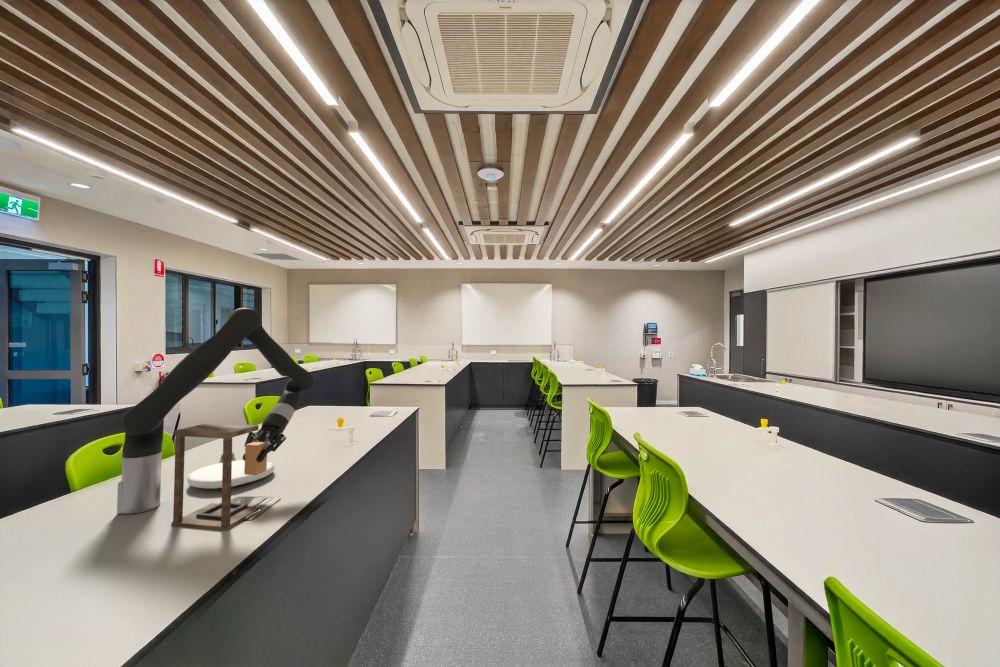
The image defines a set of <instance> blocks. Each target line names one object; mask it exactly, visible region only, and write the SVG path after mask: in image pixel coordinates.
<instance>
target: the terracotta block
mask: <svg viewBox="0 0 1000 667" xmlns="http://www.w3.org/2000/svg"><path fill="white" fill-rule="evenodd" d="M244 445H245V444H244ZM264 445H265V443H264V442H260V441H257V442H252V443H249V444H246V445H245V446H244V447H245V448H244V449H245V450H244V454H245V469H244V474H245V475H258V474H260V473H263V472H265V471H266V469H267V461H268V454H267V455H266V457H265V458H264V460H263V461H262V462H261V463H260V462H258V461H256V458H257V457H258V455H259V454H260V452H261V450H263V447H264Z"/></svg>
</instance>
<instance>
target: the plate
mask: <svg viewBox="0 0 1000 667" xmlns="http://www.w3.org/2000/svg"><path fill="white" fill-rule="evenodd" d="M244 469H245V461H244V460H243V459H240V460H239V459H238V460H236V461H232V473H231V488H232V487H236V486H237V487H238V486H239V485H244V484H249V483H252V482H255V481H257V480H258V481H259V480H261V479H263V478H266V477H268V476H269V475H271V474H272V473H273V472H274V471H275V467H274V464H273V463H272V462H271V461H268V460H267V469H266V471H265V472H263V473H260V474H258V475H245V474H244ZM222 471H223V463H219V462H218V463H214V464H211V465H207V466H203V467H201V468H198V469H196V470H194V471H192V472H191V473H190V474H188V476H187V479H186V481H187V483H188V485H189V486H191V487H193V488H199V489H222Z"/></svg>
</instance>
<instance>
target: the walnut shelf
mask: <svg viewBox="0 0 1000 667" xmlns="http://www.w3.org/2000/svg"><path fill="white" fill-rule="evenodd" d="M255 431H256V432H257V431H259V424H246V423H245V424H242V423H222V422H220V423H218V422H207V423H202V424H198V425H193V426H189V427H184V428H181V429H176V430H173V436H174V437H175V443H174V444H175V446H174V448H175V449H174V475H173V476H174V479H173V480H174V482H173V514H172V516H173V517H172V521H171V527H173V526H174V527H182V528H191V527H192V528H193V529H202V530H212V529H214V530H213V531H222V530H223V531H224V532H226V531H228V530H229V528H230V529H231V528H234V527H235V526H237V525H239V524H240V523H242V522H244V521H245V520H244V519H245V518H246V517H247V516H249V515H250V514H252V513H254V512H256V511H258V510H259V509H261V510H262V507H261V506H249V504H248V503H242V502H241V503H239V502H232V487H231V473H232V452H233V438H235V437H239V436H241V435H242V436H243V435H245V434H249V432H253V433H254V432H255ZM187 437H190V438H209V439H222V441H223V442H222V454H223V471H222V488H221V502H220V503H219V502H218V503H214V502H212V503H210V504H208V505H206V506H203V507H201V508H199V509H196V510H195V511H192V512H190V513H188V514H186V515H183V513H184V485H185V484H184V480H185V451H186V450H185V448H186V445H185V444H186V443H185V442H186V441H185V440H186V438H187ZM243 520H244V521H243ZM241 521H242V522H241Z"/></svg>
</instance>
